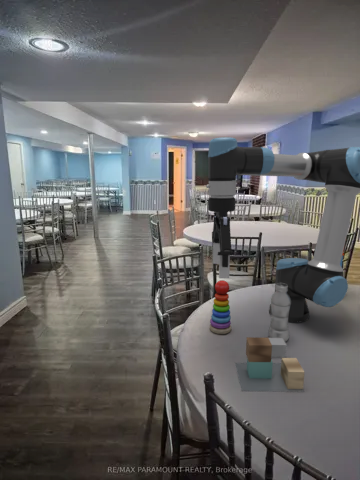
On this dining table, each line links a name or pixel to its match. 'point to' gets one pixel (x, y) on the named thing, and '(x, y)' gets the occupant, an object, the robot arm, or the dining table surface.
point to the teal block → (259, 369)
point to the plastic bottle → (280, 312)
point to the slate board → (263, 380)
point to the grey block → (278, 347)
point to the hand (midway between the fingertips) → (220, 270)
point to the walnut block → (258, 349)
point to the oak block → (292, 373)
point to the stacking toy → (221, 309)
